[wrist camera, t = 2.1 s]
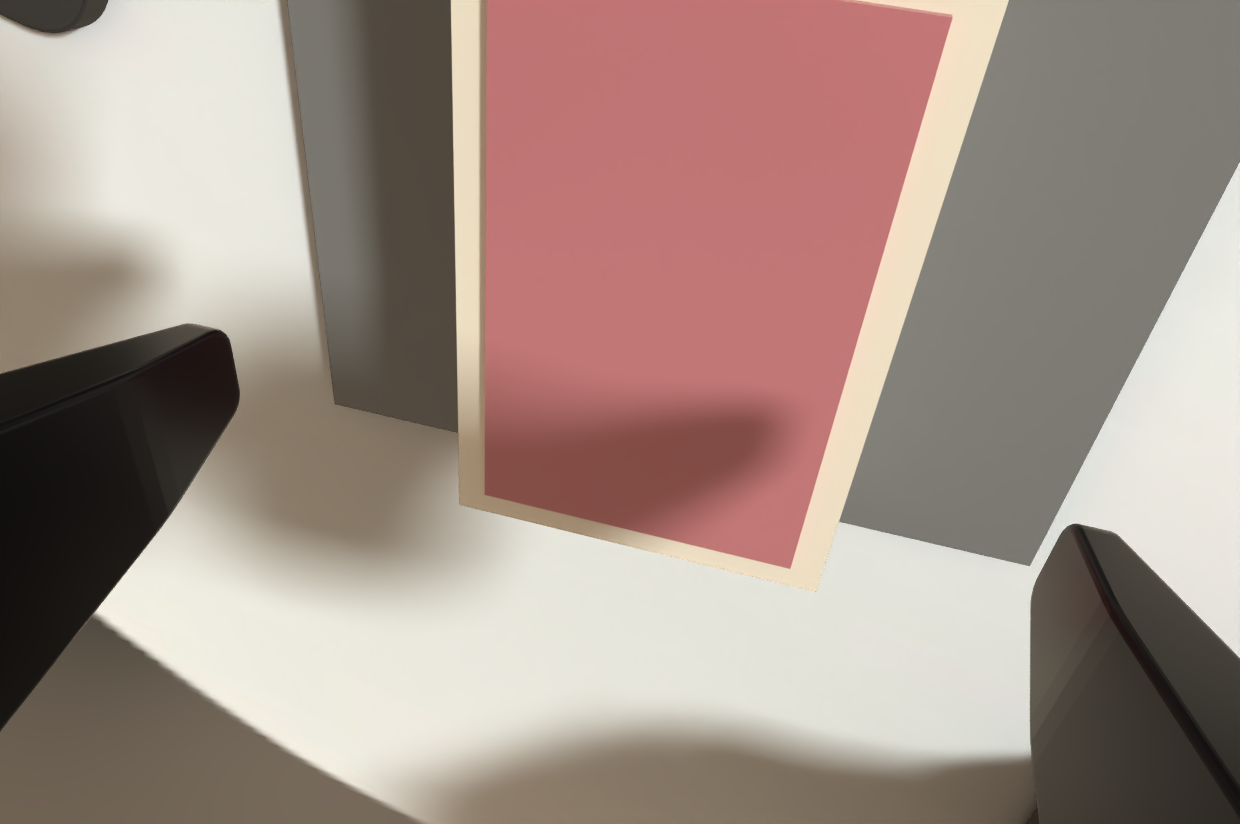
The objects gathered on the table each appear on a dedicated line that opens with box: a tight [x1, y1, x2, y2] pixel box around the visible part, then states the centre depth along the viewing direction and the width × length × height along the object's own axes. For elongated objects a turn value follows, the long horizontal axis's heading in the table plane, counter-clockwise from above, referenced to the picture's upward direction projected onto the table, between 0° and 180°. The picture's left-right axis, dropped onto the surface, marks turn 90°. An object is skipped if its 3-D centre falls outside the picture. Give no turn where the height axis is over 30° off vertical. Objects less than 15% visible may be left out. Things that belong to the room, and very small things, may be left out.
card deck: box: [451, 0, 1009, 592], centre depth 13 cm, size 9×6×3 cm, turn 175°
